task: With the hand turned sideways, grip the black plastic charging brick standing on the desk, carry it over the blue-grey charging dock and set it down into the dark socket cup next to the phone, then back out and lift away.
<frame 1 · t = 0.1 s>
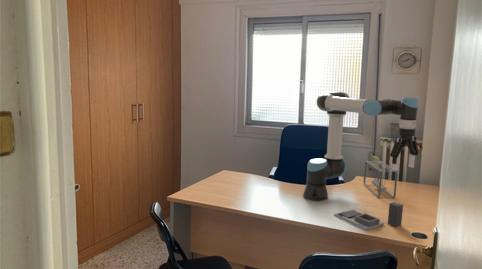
hand: (403, 168, 190), 28 cm above the table, tool pointing down, fingers open, 13 cm apart
newton's cradle: (378, 191, 242), on the table
charging dock: (358, 220, 193), on the table
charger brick: (394, 224, 189), on the table
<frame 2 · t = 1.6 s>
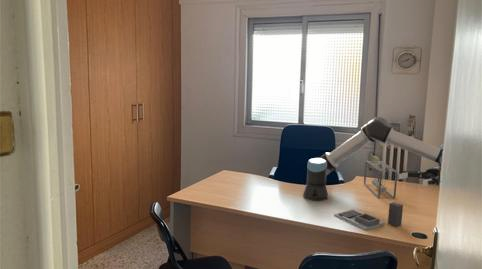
hand: (411, 179, 190), 22 cm above the table, tool horizontal, fingers open, 13 cm apart
nothing on the table moved.
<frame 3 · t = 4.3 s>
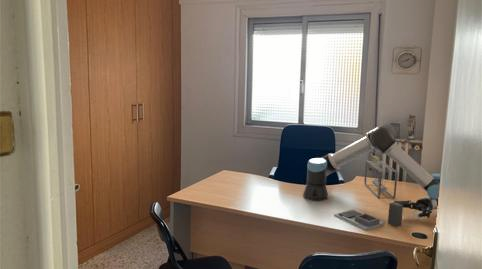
hand: (401, 211, 189), 6 cm above the table, tool horizontal, fingers open, 13 cm apart
nothing on the table moved.
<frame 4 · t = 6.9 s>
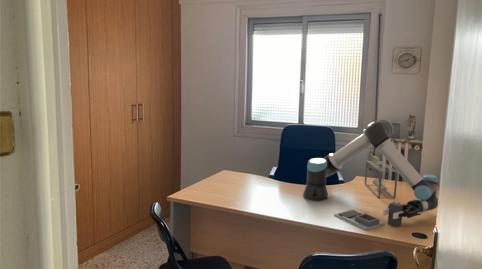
hand: (388, 214, 185), 7 cm above the table, tool horizontal, fingers closed on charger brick, 5 cm apart
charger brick: (394, 224, 189), on the table, touching gripper
everything else where it was.
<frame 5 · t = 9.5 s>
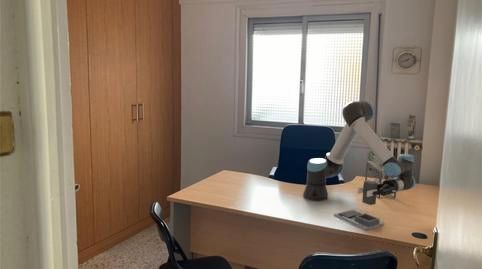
hand: (362, 192, 183), 18 cm above the table, tool horizontal, fingers closed on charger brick, 5 cm apart
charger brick: (368, 203, 187), point 11 cm above the table, touching gripper
everything else where it was.
when the fingers open (9 cm above the table, at t = 12.3 s): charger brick drops 1 cm, resting on charging dock.
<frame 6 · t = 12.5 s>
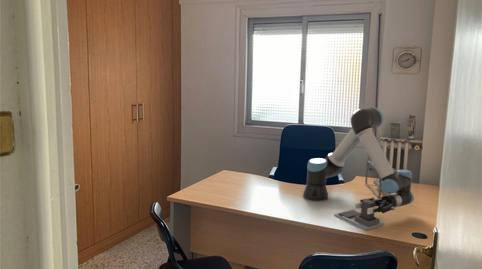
hand: (361, 208, 185), 9 cm above the table, tool horizontal, fingers open, 7 cm apart
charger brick: (366, 222, 189), point 1 cm above the table, touching charging dock
everything else where it was.
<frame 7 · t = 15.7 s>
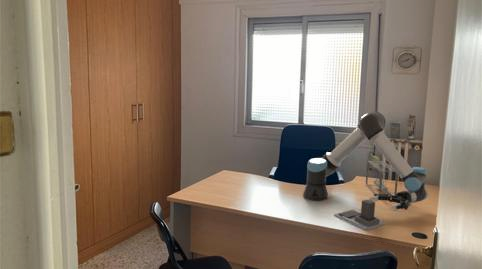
hand: (380, 204, 192), 9 cm above the table, tool horizontal, fingers open, 13 cm apart
nothing on the table moved.
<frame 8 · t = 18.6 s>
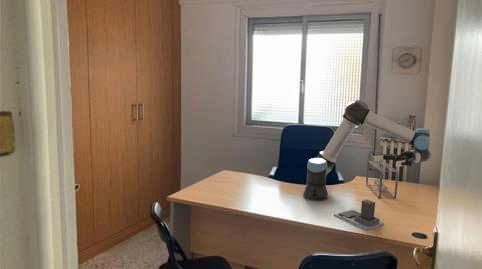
hand: (385, 161, 196), 30 cm above the table, tool horizontal, fingers open, 13 cm apart
at the end: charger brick 0.0 cm from the target spot on the charging dock, point 1.0 cm above the charging dock's base; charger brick tilted 0°; the gripper is holding nothing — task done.
